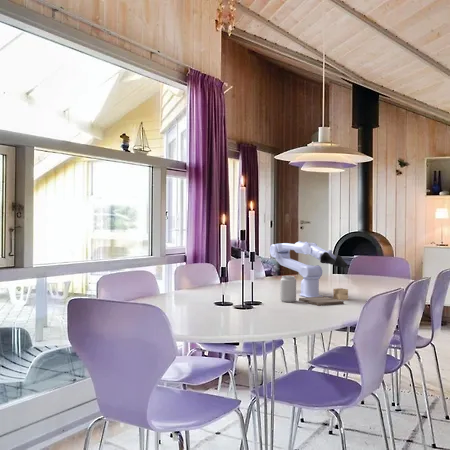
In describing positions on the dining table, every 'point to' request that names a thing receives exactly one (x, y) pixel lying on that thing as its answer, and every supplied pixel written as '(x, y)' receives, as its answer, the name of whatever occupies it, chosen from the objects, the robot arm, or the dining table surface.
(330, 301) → the serving board
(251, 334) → the dining table surface
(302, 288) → the robot arm
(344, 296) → the oak block
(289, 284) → the can
